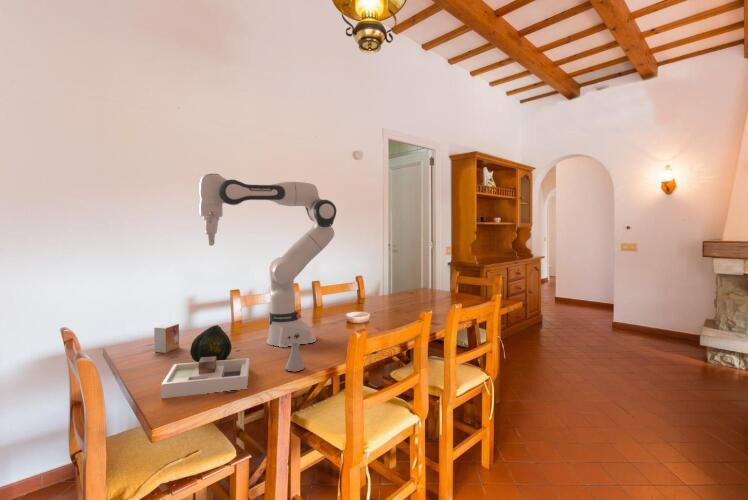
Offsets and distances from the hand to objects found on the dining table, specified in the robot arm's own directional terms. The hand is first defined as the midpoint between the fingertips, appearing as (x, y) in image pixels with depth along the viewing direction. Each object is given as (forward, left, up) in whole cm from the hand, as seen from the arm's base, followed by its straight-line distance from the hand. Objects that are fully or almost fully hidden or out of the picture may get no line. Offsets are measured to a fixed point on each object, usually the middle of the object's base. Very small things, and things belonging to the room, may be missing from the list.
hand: (211, 244), depth 155 cm
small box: (+18, -3, -46) cm, 49 cm away
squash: (-2, +17, -45) cm, 49 cm away
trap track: (-4, +37, -45) cm, 58 cm away
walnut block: (-3, +33, -42) cm, 54 cm away
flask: (-33, +32, -46) cm, 64 cm away
